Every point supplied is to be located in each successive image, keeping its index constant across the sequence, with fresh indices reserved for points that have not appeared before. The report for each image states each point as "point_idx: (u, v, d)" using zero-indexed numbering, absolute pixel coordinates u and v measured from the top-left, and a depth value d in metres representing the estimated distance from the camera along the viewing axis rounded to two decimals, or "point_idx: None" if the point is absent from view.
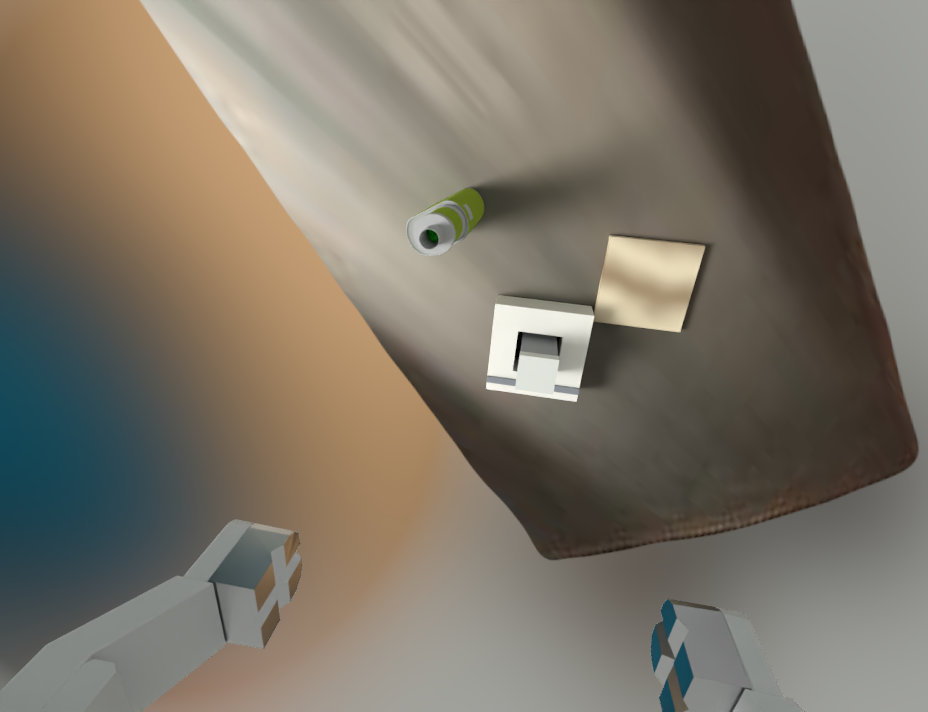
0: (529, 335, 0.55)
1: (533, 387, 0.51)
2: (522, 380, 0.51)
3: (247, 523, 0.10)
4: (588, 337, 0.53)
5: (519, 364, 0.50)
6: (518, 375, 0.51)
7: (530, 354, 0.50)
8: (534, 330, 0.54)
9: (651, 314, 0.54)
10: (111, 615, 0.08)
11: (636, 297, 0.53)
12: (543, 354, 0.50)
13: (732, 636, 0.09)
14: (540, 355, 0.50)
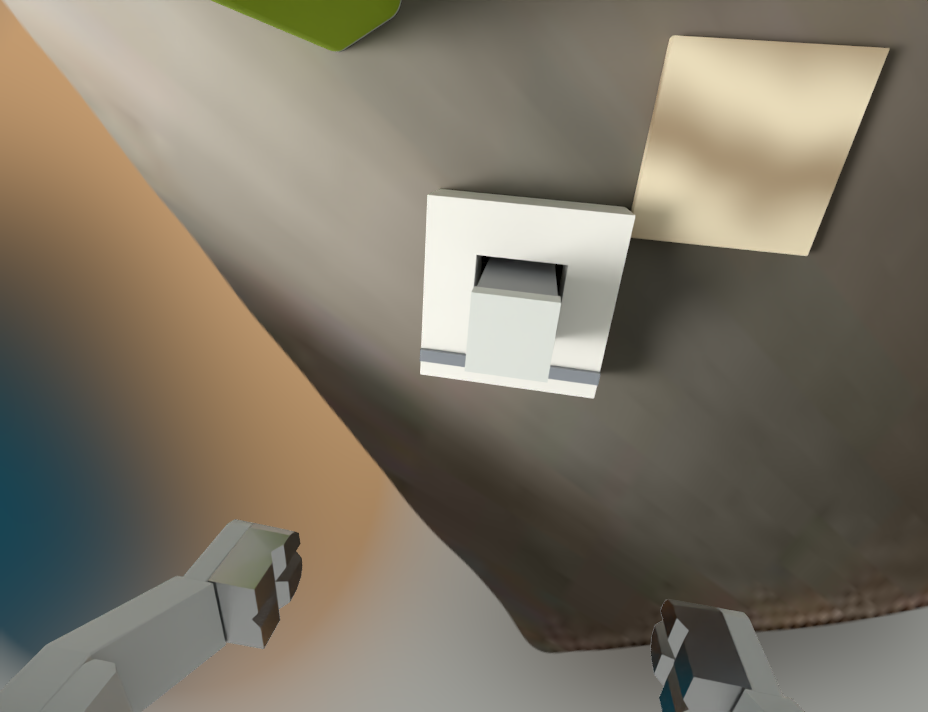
0: (500, 265, 0.27)
1: (504, 367, 0.23)
2: (479, 352, 0.23)
3: (246, 523, 0.10)
4: (621, 264, 0.26)
5: (471, 315, 0.22)
6: (470, 340, 0.23)
7: (496, 292, 0.22)
8: (510, 252, 0.26)
9: (750, 218, 0.26)
10: (111, 615, 0.08)
11: (721, 181, 0.26)
12: (525, 293, 0.23)
13: (732, 636, 0.09)
14: (518, 294, 0.22)
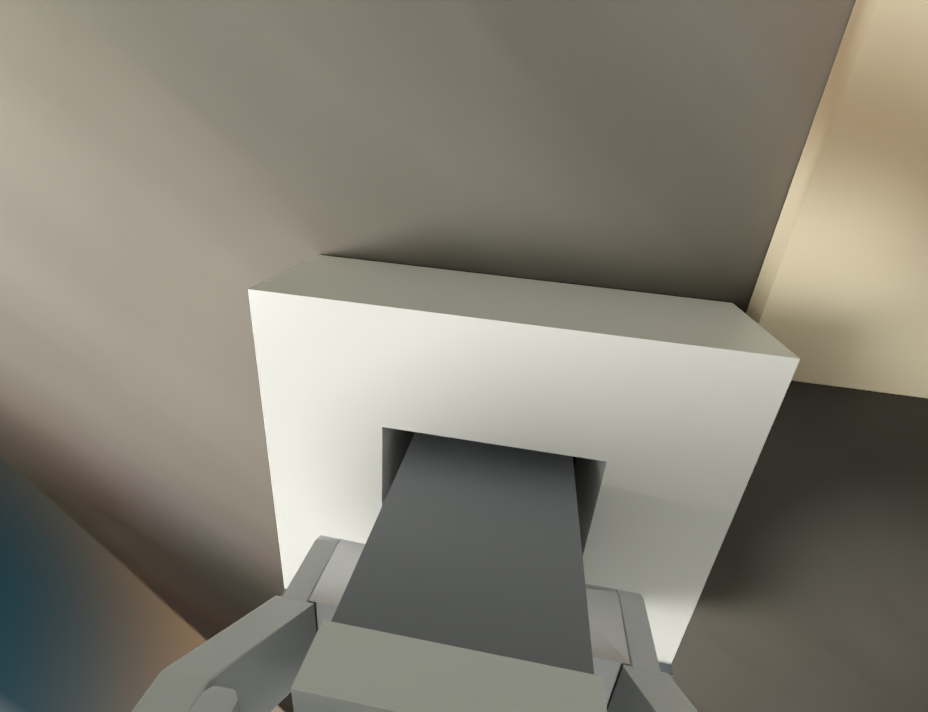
0: (444, 441, 0.12)
1: None
2: None
3: (334, 539, 0.10)
4: (745, 469, 0.10)
5: None
6: None
7: (384, 669, 0.07)
8: (462, 425, 0.11)
9: None
10: (220, 638, 0.08)
11: None
12: (487, 653, 0.07)
13: (622, 615, 0.09)
14: (461, 675, 0.07)
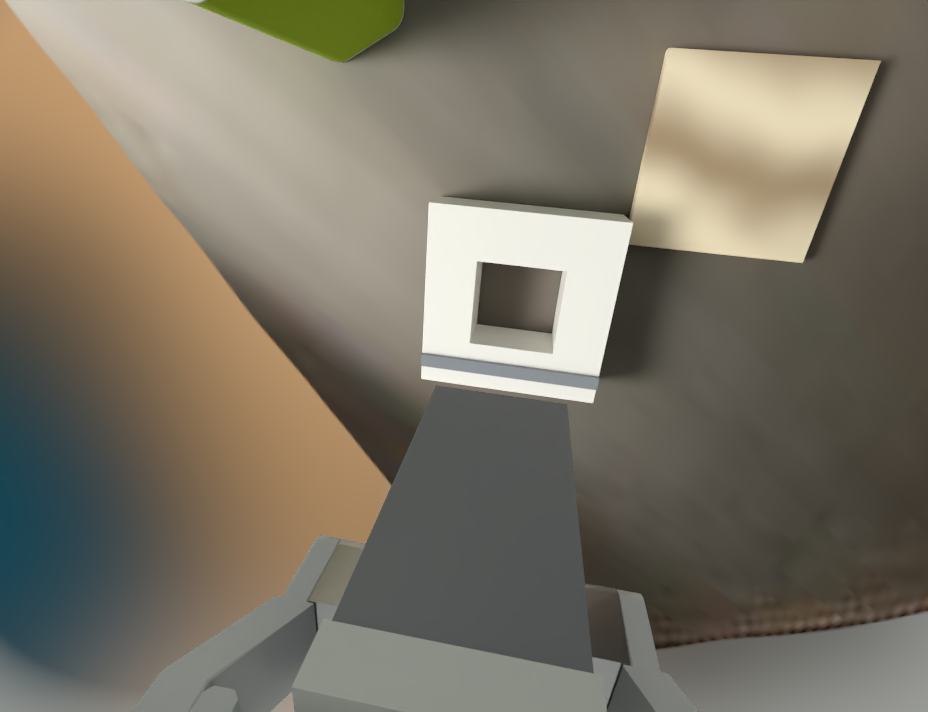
0: (444, 442, 0.12)
1: None
2: None
3: (335, 539, 0.10)
4: (619, 271, 0.26)
5: None
6: None
7: (384, 668, 0.07)
8: (510, 258, 0.27)
9: (746, 226, 0.27)
10: (220, 638, 0.08)
11: (717, 189, 0.26)
12: (487, 652, 0.07)
13: (622, 615, 0.09)
14: (461, 674, 0.07)
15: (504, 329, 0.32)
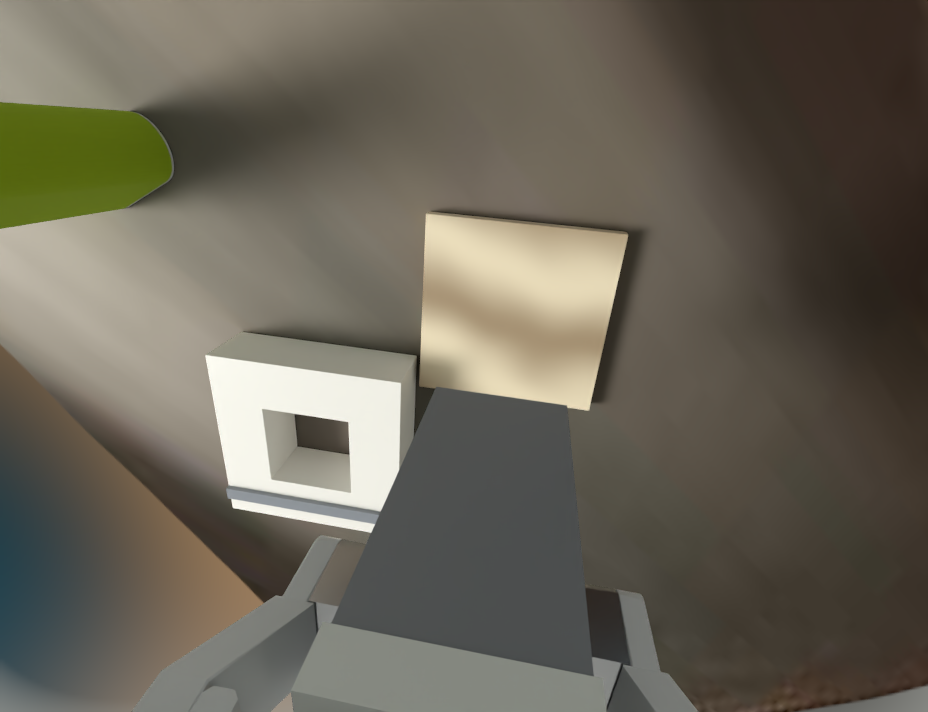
0: (443, 443, 0.12)
1: None
2: None
3: (335, 539, 0.10)
4: (397, 424, 0.26)
5: None
6: None
7: (384, 671, 0.07)
8: (292, 407, 0.27)
9: (529, 375, 0.26)
10: (220, 638, 0.08)
11: (496, 341, 0.26)
12: (486, 655, 0.07)
13: (623, 615, 0.09)
14: (461, 677, 0.07)
15: (322, 453, 0.32)
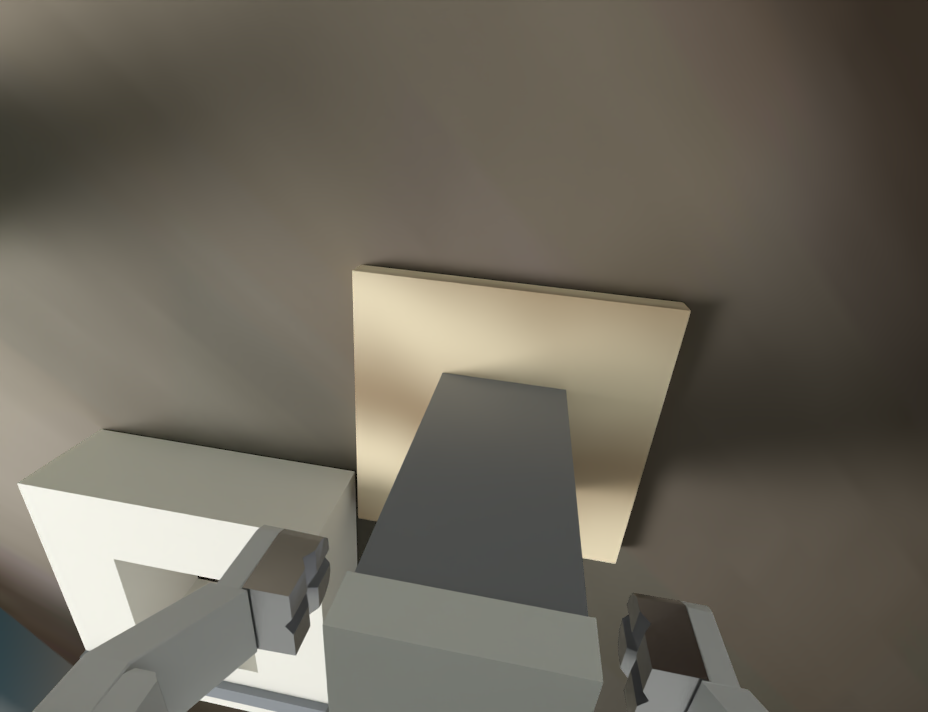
0: (451, 422, 0.13)
1: None
2: None
3: (276, 529, 0.10)
4: None
5: (333, 671, 0.08)
6: None
7: (403, 611, 0.07)
8: (157, 561, 0.17)
9: None
10: (148, 623, 0.08)
11: None
12: (493, 599, 0.08)
13: (694, 629, 0.09)
14: (471, 616, 0.07)
15: None
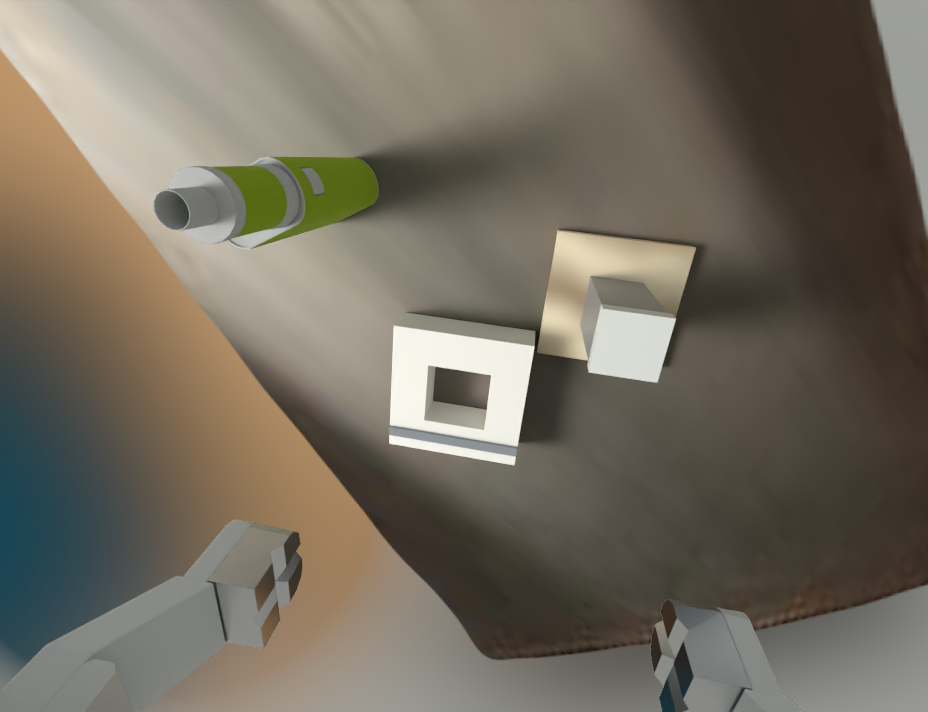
0: (605, 286, 0.33)
1: (622, 369, 0.29)
2: (603, 357, 0.29)
3: (247, 523, 0.10)
4: (527, 376, 0.37)
5: (601, 326, 0.28)
6: (597, 347, 0.29)
7: (621, 309, 0.28)
8: (451, 364, 0.38)
9: None
10: (111, 615, 0.08)
11: None
12: (643, 310, 0.28)
13: (732, 636, 0.09)
14: (639, 311, 0.28)
15: (453, 405, 0.43)
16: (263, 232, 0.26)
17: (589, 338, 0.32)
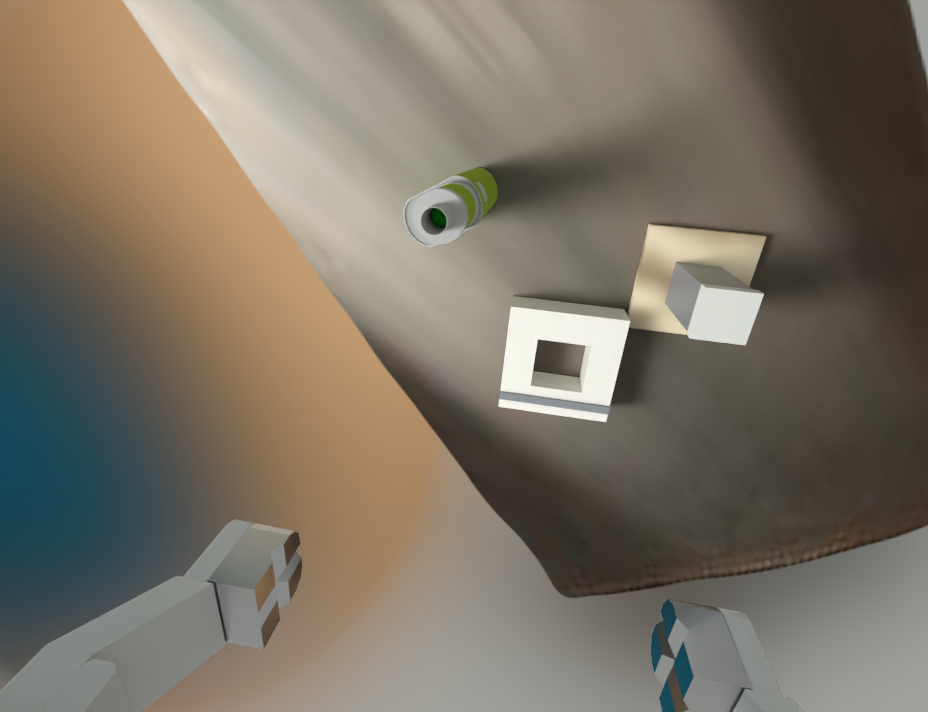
0: (693, 270, 0.41)
1: (718, 335, 0.37)
2: (702, 326, 0.36)
3: (246, 523, 0.10)
4: (622, 346, 0.45)
5: (702, 301, 0.36)
6: (698, 318, 0.36)
7: (719, 287, 0.36)
8: (557, 338, 0.45)
9: None
10: (111, 615, 0.08)
11: None
12: (735, 288, 0.36)
13: (732, 636, 0.09)
14: (732, 288, 0.36)
15: (549, 374, 0.51)
16: None
17: (684, 312, 0.39)
